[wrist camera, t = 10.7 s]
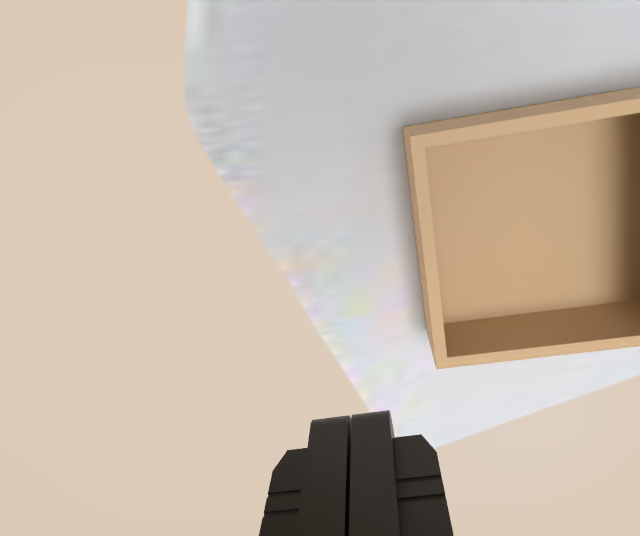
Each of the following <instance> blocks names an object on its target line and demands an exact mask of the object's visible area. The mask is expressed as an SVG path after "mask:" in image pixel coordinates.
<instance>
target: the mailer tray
mask: <svg viewBox="0 0 640 536" xmlns="http://www.w3.org/2000/svg"><path fill="white" fill-rule="evenodd" d="M403 136H404V144H405V153H406V161H407V170H408V178H409V186H410V195H411V203H412V212H413V220H414V229H415V237H416V246H417V254H418V263H419V271H420V280H421V288H422V296H423V305H424V313H425V322H426V330H427V334H428V338H429V342H430V346H431V350H432V353H433V357H434V361H435V365H436V369H442V368H451V367H459V366H468V365H477V364H486V363H495V362H504V361H512V360H521V359H530V358H539V357H548V356H557V355H566V354H574V353H583V352H592V351H601V350H610V349H619V348H627V347H636V346H640V87H635V88H630V89H624V90H618V91H612V92H606V93H600V94H594V95H588V96H582V97H576V98H570V99H564V100H558V101H552V102H546V103H541V104H535V105H529V106H523V107H517V108H511V109H505V110H499V111H493V112H487V113H481V114H475V115H469V116H463V117H457V118H452V119H446V120H440V121H434V122H428V123H422V124H416V125H410V126H404V127H403Z"/></svg>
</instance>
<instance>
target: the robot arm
mask: <svg viewBox="0 0 640 536" xmlns="http://www.w3.org/2000/svg"><path fill="white" fill-rule="evenodd" d="M259 536H453V531H452V526H451V521H450V516H449V511H448V506H447V501H446V497H445V491H444V486H443V482H442V477H441V472H440V467H439V462H438V457H437V452H436V451H435V450H434V449H433V447H432V446H431V445H430V444H429V443H428V442H427V441H426V439H425V438H424V437H423V436H422V435H413V436H404V437H396V438H395V437H394V431H393V425H392V420H391V415H390V411H389V410H388V411H380V412H372V413H364V414H356V415H352V418H350V416H341V417H333V418H325V419H318V420H312V422H311V427H310V434H309V442H308V448H303V449H296V450H295V449H294V450H287V452H286V453H285V455H284V456H283V457H282V459H281V460H280V462H279V463H278V464H277V466H276V467H275V469H274V470H273V472H272V478H271V482H270V486H269V491H268V498H267V501H266V505H265V510H264V517H263V519H262V524H261V529H260V534H259Z"/></svg>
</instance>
